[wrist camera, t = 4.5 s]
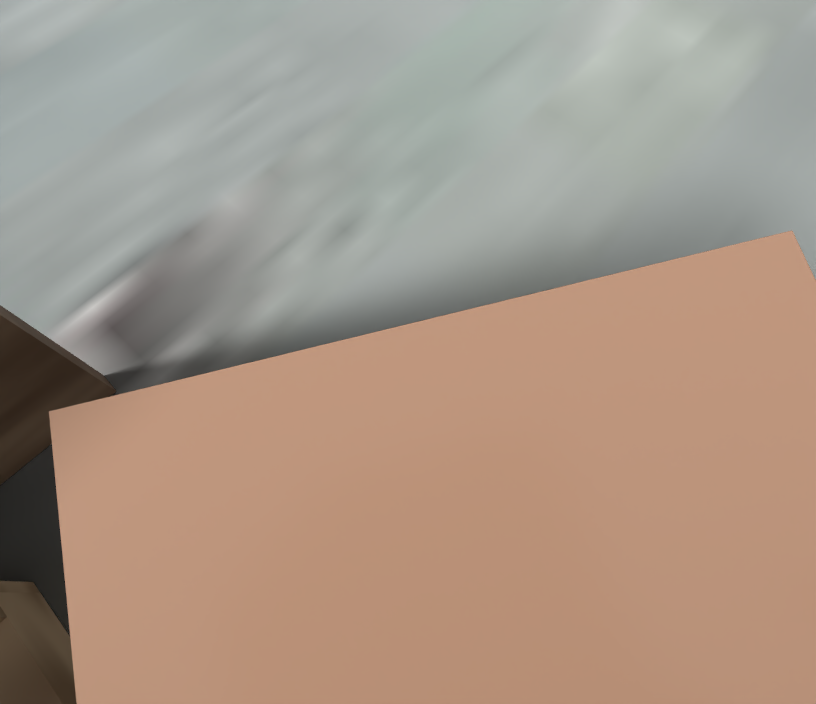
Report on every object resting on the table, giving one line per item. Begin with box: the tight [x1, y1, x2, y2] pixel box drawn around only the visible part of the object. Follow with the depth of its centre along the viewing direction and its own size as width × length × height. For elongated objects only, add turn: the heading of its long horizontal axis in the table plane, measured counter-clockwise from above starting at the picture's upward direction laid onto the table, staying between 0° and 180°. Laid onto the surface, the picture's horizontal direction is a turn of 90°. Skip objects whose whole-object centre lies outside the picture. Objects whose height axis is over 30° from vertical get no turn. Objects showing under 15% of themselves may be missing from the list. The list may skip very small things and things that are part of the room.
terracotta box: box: [49, 231, 816, 704], centre depth 9 cm, size 6×6×12 cm
